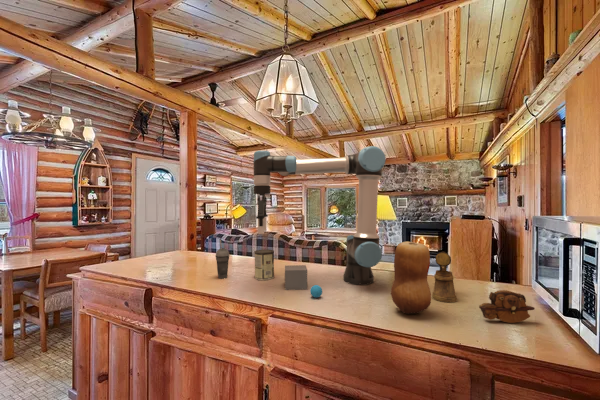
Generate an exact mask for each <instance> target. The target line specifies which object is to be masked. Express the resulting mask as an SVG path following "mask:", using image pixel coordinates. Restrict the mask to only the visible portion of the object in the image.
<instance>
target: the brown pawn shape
mask: <svg viewBox="0 0 600 400" xmlns="http://www.w3.org/2000/svg"><path fill="white" fill-rule="evenodd" d="M435 263H436V264H437V265H438V266H439V269H437V270H435V273H434V283H433V285H434V286H433V290H432V293H431V298H432V299H434V300H435V301H438V302H441V303H456V302H458V301H457V300H458V299H457V295H456V291H455V285H454V275H453V272H452V271H450V270H447V267H448V266H449V265H450V264H451V263H452V257H451V256H450V255H449V253H447V252H446V251H441V252H438V253H437V254H436V255H435Z"/></svg>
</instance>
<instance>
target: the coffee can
mask: <svg viewBox="0 0 600 400" xmlns="http://www.w3.org/2000/svg"><path fill="white" fill-rule="evenodd" d="M253 253H254V279H255V280H259V281H266V280H267V281H269V280H273V279H274V278H275V258H274V257H275V256H274V255H275V250H273V249H258V250H255V251H254V252H253Z"/></svg>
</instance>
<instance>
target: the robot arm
mask: <svg viewBox="0 0 600 400" xmlns="http://www.w3.org/2000/svg"><path fill="white" fill-rule="evenodd" d="M252 162H253V177H252V178H251V179H252V181H253V194H254V195H257V216H255V218H256V219H257V234H259V235H264V234H265V232H266V231H267V218H268V215H269V214H267V201H268V199H267V197H266V195H270V194H271V173H278V174H279V175H280V176H282V177H283V176H284V177H285V176H287V177H288V176H293V175H294V176H295V175H314V174H315V175H317V174H336V173H344V174H345V175H355V178H357V180H358V196H357V198H358V199H357V219H356V220H357V222H356V231H355V234H350V235H347V237H346V241H345V243H346V267H345V269H344V273H343V276H342V277H343V278H342V281H343V282H345V283H348V284H351V285H361V286H362V285H370V284H373V283H374V282H375V275H374V273H373V270H372V268H374V267H375V266H377V265H378V264H379V263H380V262H381V260H382V256H383V251H382V249H381V246H380V236H379V235H378V234H377V220H378V219H377V218H378V216H377V215H378V197H379V192H378V191H379V180H380V179H381V178H382V177H383V168H384V166H385V164H386V155H385V152H384V151H383V150H382V149H381V148H380V147H378V146H376V145H375V146H374V145H370V146H366V147H363V148H362V149H361V150H360V151H358V152H357V153H353V154H346V155H344V157H324V158H323V157H321V158H300V159H299V158H298V159H297V156H295V155H290V154H289V155H288V154H287V155H271V152H270V151H268V150H257V151H255V152H254V153H253V161H252Z"/></svg>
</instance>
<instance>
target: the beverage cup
mask: <svg viewBox="0 0 600 400" xmlns="http://www.w3.org/2000/svg"><path fill="white" fill-rule="evenodd" d="M219 243H220V248H219V249H218V250H217V251H216V253H215V260H216V269H217V278H219V280H225V279H227V278H228V272H229V271H228V270H229V260H230V256H231V255H230V251H229V250H228V249H227V248H224V247H222V239H219ZM224 278H225V279H224Z"/></svg>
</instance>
